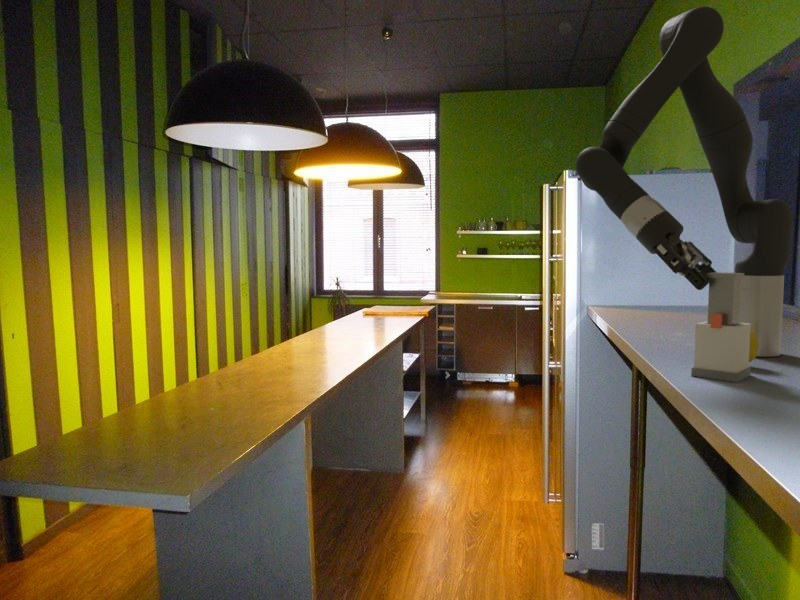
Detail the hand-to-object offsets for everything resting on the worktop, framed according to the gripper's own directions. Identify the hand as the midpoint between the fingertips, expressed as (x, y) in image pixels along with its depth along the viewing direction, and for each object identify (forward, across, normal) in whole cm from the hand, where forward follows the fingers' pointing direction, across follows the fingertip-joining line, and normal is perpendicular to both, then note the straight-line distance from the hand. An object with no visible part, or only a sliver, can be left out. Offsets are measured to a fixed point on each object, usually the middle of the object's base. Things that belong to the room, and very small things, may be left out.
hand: (712, 285), depth 109 cm
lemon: (+13, +12, +10) cm, 20 cm away
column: (+12, 0, +9) cm, 15 cm away
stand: (+13, 0, +10) cm, 16 cm away
